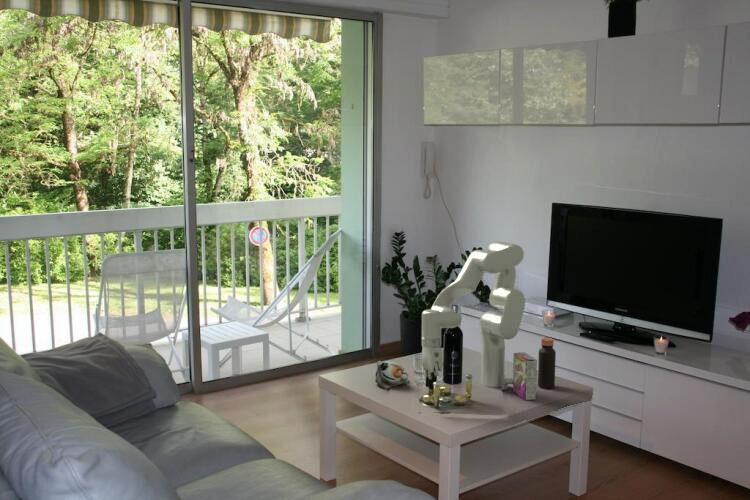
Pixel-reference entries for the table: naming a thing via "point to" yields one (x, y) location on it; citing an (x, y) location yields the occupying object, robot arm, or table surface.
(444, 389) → the gold u-shaped piece
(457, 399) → the gold bent piece
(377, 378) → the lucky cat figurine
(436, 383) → the gold l-shaped fitting
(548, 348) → the bottle
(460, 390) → the table surface
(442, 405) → the tribrach plate
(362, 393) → the table surface
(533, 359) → the candy bar box
